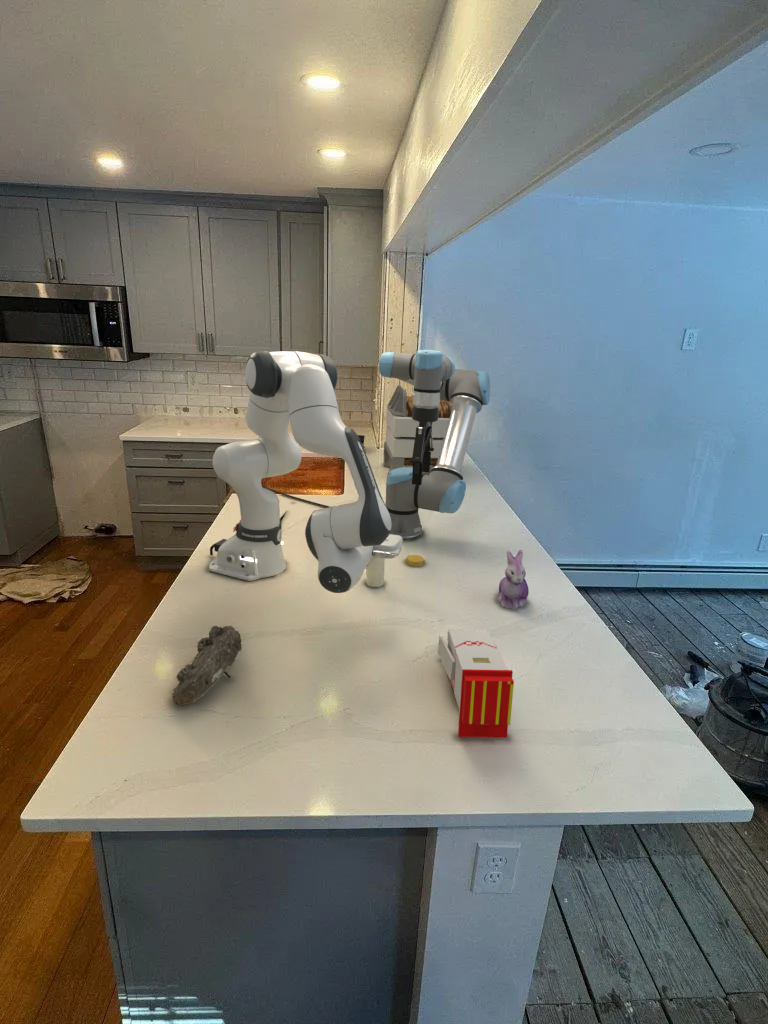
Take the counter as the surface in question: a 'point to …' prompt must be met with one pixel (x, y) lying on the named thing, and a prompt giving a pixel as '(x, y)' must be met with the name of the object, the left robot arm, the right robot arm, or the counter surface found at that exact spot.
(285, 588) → the counter surface
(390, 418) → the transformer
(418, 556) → the lid
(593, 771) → the counter surface
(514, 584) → the figurine
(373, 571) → the jar
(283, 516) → the feather
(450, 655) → the toy
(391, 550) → the left robot arm
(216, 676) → the fossil
